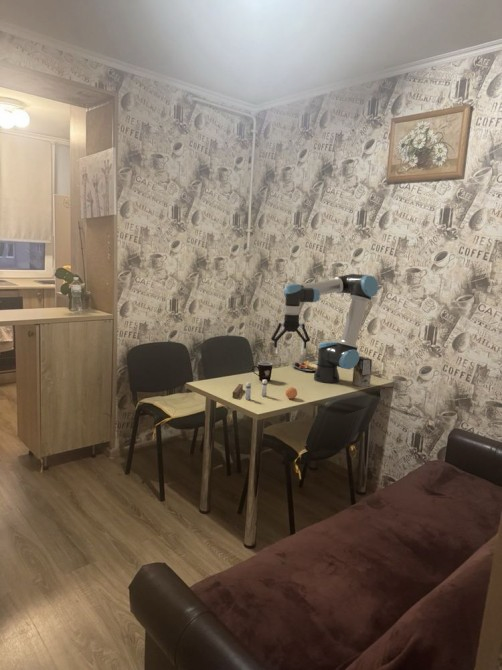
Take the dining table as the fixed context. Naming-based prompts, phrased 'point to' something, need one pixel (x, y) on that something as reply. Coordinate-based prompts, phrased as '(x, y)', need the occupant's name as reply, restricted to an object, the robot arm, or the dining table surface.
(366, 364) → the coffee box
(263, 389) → the pin
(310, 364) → the food plate
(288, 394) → the ball
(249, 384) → the side pin
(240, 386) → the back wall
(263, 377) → the coffee mug
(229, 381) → the dining table surface
